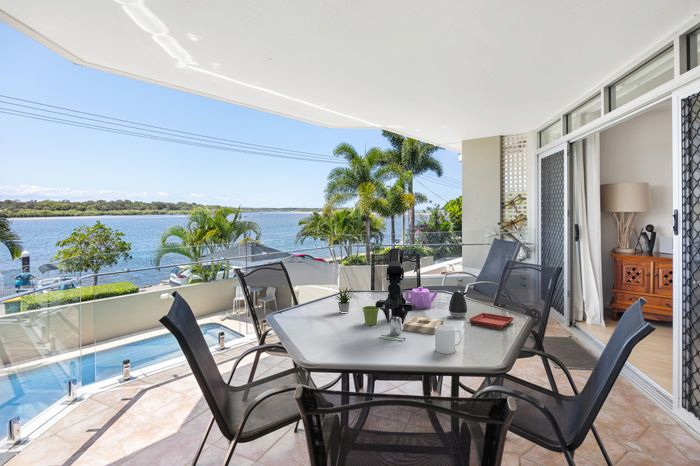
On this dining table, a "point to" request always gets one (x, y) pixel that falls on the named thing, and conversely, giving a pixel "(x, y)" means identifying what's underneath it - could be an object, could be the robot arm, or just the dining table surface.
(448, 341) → the cup
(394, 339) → the mat
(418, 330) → the housing
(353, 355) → the dining table surface
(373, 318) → the plant pot
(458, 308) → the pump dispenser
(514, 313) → the dining table surface
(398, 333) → the grey metallic cylinder
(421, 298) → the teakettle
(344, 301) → the house plant
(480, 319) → the plant saucer
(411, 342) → the dining table surface
